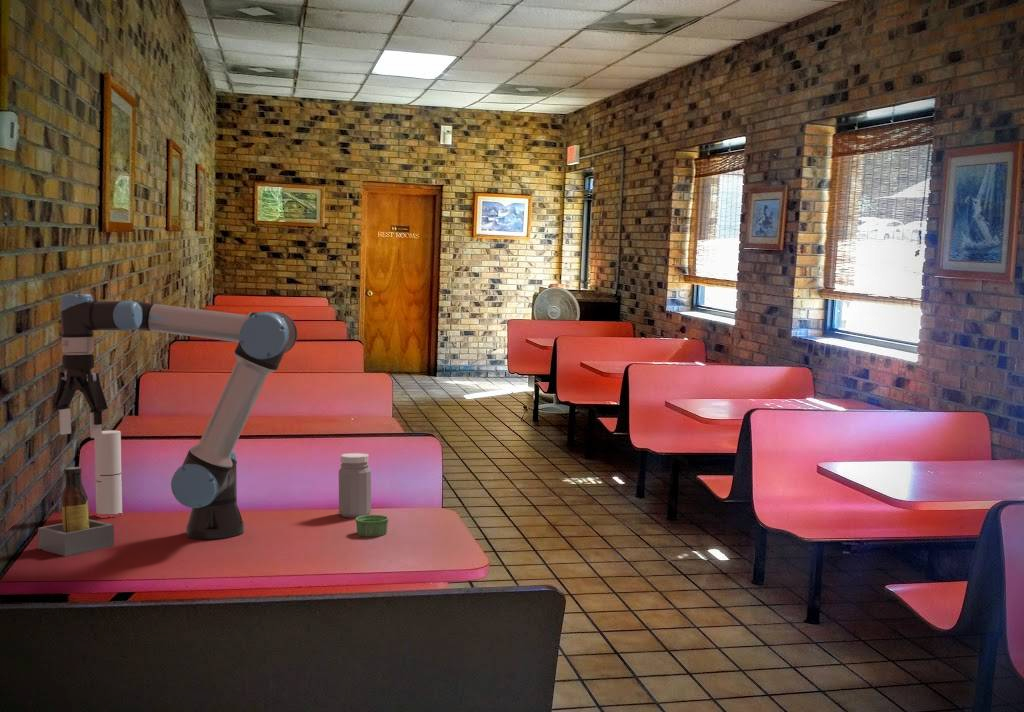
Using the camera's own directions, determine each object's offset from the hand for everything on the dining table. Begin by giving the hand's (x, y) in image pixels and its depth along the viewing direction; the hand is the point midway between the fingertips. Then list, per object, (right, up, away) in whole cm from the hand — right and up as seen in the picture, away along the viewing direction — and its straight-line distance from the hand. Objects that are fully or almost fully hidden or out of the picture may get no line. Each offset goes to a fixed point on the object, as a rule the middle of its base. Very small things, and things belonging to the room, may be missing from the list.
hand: (80, 435), depth 255 cm
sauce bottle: (-1, -28, -1) cm, 28 cm away
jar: (+65, -27, +39) cm, 80 cm away
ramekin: (+73, -28, +15) cm, 80 cm away
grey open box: (-1, -29, -1) cm, 29 cm away
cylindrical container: (-8, -27, +38) cm, 47 cm away
